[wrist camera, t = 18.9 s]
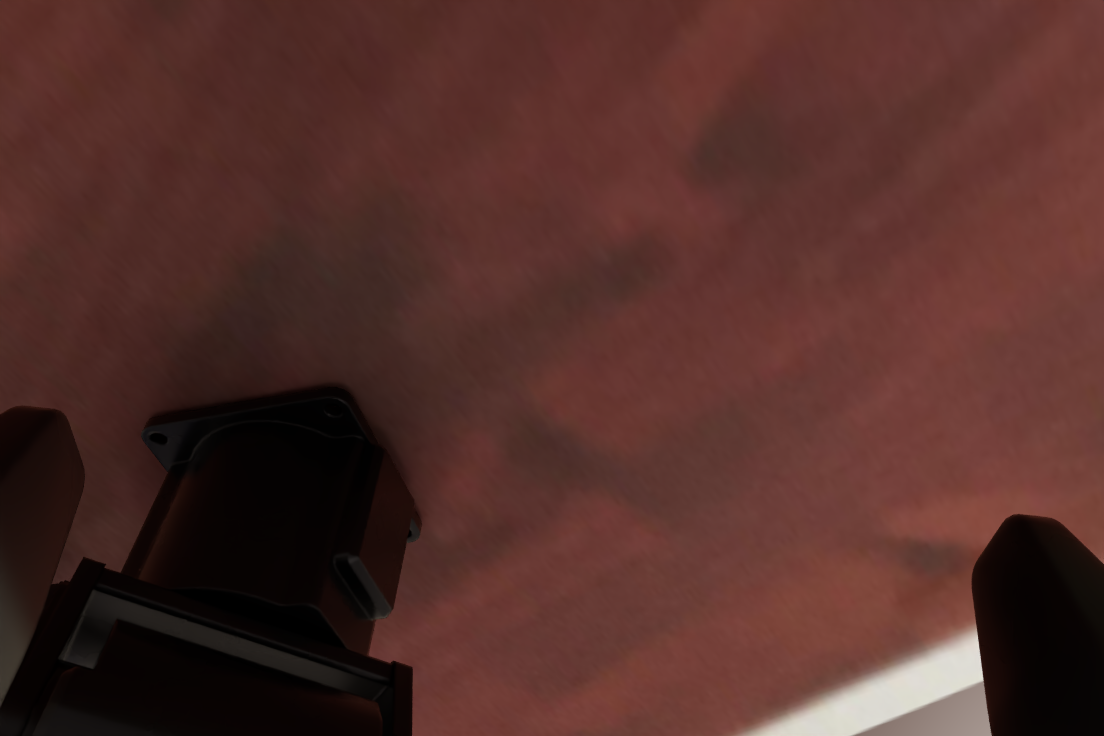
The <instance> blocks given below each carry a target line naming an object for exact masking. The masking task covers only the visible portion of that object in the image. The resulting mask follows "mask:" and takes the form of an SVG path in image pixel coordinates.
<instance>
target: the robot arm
mask: <svg viewBox="0 0 1104 736" xmlns="http://www.w3.org/2000/svg"><path fill="white" fill-rule="evenodd" d="M331 404H336V405H339V406H340V407H337V406H333V405H331ZM141 437H142V439H143V441H144V442H145V444H146V445H147V446H148V448H149V449H150V450H151V451H152V453H153V454H154V455H155V457H156V458H157V459H158V460H159V462H160V463H161V464H162V465H163V467H164V468H165V469H166V471H167V472H168V473H167V475H166V477H165V480H164V482H163V484H162V486H161V488H160V490H159V492H158V494H157V497H156V499H155V501H154V503H153V505H152V507H151V509H150V511H149V514H148V516H147V518H146V520H145V522H144V524H143V526H142V529H141V531H140V533H139V535H138V537H137V539H136V541H135V543H134V546H133V548H132V550H131V552H130V554H129V556H128V558H127V560H126V563H125V565H124V567H123V569H122V571H121V573H119V572H116V571H113V570H110V569H107V568H105V565H106V564H104V563H101V562H98V561H95V560H92V559H89V558H86V557H83V559H82V561H81V563H80V565H79V566H78V568H77V570H76V572H75V574H74V575H73V577H72V579H71V581H70V582H69V581H66V580H65V581H64V582H62V581H61V582H60V583H59V584H52V581H53V578H54V575H55V572H56V569H57V566H58V563H59V560H60V557H61V554H62V551H63V548H64V546H65V543H66V540H67V537H68V534H69V531H70V528H71V525H72V522H73V519H74V516H75V513H76V510H77V507H78V504H79V501H80V498H81V495H82V492H83V487H84V480H85V473H84V466H83V463H82V460H81V457H80V454H79V451H78V448H77V445H76V442H75V439H74V436H73V433H72V430H71V427H70V424H69V421H68V419H67V417H66V416H65V415H64V414H63V413H62V412H61V411H59V410H56V409H50V408H41V407H32V406H16V407H13V408H10V409H8V410H7V411H5V412H3V413H2V414H0V736H412V683H413V669H412V667H411V666H408V665H405V664H402V663H399V662H396V661H392V662H391V663H388V662H385V661H382V660H379V659H376V658H373V657H370V656H368V654H369V649H370V645H371V640H372V635H373V631H374V626H375V622H376V619H382V618H387V617H388V616H389V614H390V613H391V611H392V610H393V607H394V603H395V598H396V593H397V588H398V583H399V578H400V573H401V568H402V563H403V558H404V553H405V548H406V543H409V542H413V541H416V540H417V539H418V538H419V536H420V532H421V527H422V523H421V520H420V518H419V516H418V514H417V512H416V511H415V509H414V500H413V498H412V496H411V494H410V492H409V490H408V489H407V487H406V485H405V483H404V481H403V479H402V478H401V476H400V474H399V472H398V470H397V468H396V467H395V465H394V463H393V461H392V459H391V458H390V456H389V454H388V452H387V450H386V449H385V448H383V447H382V446H381V445H380V444H378V442H377V440H376V438H375V436H374V435H373V433H372V431H371V429H370V427H369V425H368V424H367V422H366V420H365V418H364V416H363V415H362V413H361V411H360V409H359V407H358V406H357V404H356V402H355V400H354V398H353V397H352V396H351V394H350V393H349V392H347V391H345V390H344V389H341V388H337V387H328V388H322V389H317V390H311V391H305V392H299V393H293V394H287V395H281V396H275V397H270V398H264V399H258V400H252V401H246V402H240V403H234V404H229V405H223V406H217V407H211V408H205V409H199V410H193V411H187V412H182V413H176V414H170V415H164V416H158V417H154V418H151V419H149V420H148V421H147V423H146V425H145V427H144V429H143V430H142V433H141ZM972 594H973V602H974V610H975V617H976V625H977V633H978V640H979V648H980V656H981V664H982V671H983V679H984V687H985V694H986V702H987V709H988V715H989V722H990V728H991V733H992V736H1104V564H1103V563H1102V562H1101V561H1100V560H1099V559H1098V558H1097V557H1096V556H1095V555H1094V554H1093V553H1092V552H1091V551H1090V550H1089V549H1088V548H1087V547H1086V546H1084V545H1083V544H1082V543H1081V542H1080V541H1079V540H1078V539H1077V538H1076V537H1075V536H1074V535H1073V534H1072V533H1071V532H1070V531H1069V530H1068V529H1067V528H1066V527H1065V526H1064V525H1062V524H1061V523H1060V522H1058V521H1057V520H1055V519H1052V518H1048V517H1040V516H1031V515H1022V514H1015V515H1012V516H1010V517H1008V518H1006V519H1005V520H1004V522H1003V523H1002V524H1001V526H1000V527H999V529H998V530H997V532H996V533H995V535H994V536H993V538H992V539H991V541H990V542H989V544H988V545H987V546H986V548H985V549H984V551H983V552H982V554H981V555H980V557H979V558H978V560H977V562H976V563H975V566H974V569H973V573H972Z"/></svg>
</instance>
